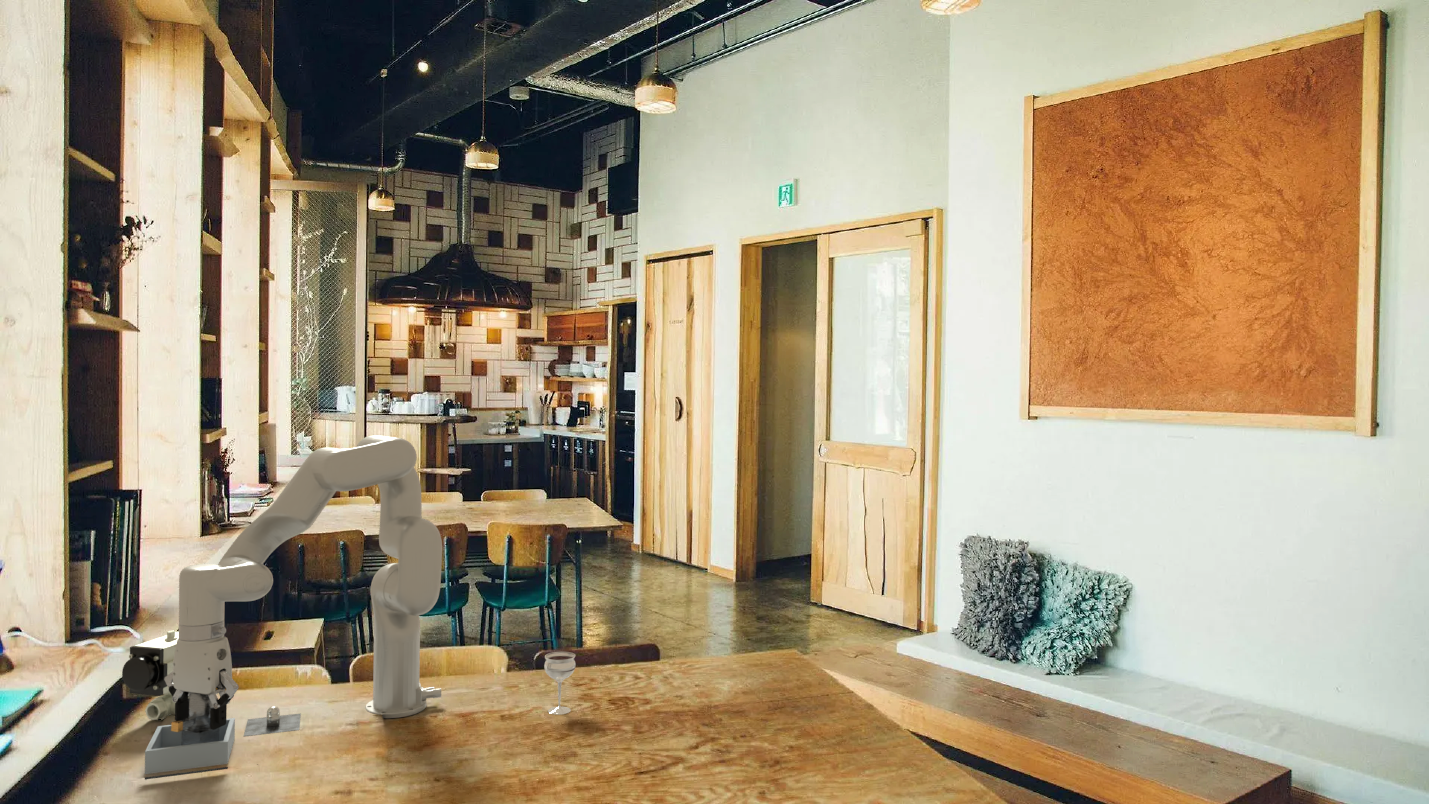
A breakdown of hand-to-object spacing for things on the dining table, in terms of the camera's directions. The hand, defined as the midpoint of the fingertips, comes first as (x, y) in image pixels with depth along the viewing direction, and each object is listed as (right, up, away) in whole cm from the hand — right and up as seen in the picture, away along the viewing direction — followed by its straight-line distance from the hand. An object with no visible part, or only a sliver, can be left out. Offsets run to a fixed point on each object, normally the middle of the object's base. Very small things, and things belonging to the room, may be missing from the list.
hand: (200, 723), depth 172 cm
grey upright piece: (-1, -5, -2) cm, 6 cm away
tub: (-1, -6, -2) cm, 6 cm away
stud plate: (+7, -6, +14) cm, 17 cm away
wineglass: (+63, -7, +28) cm, 69 cm away
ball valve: (-18, -6, +21) cm, 28 cm away
